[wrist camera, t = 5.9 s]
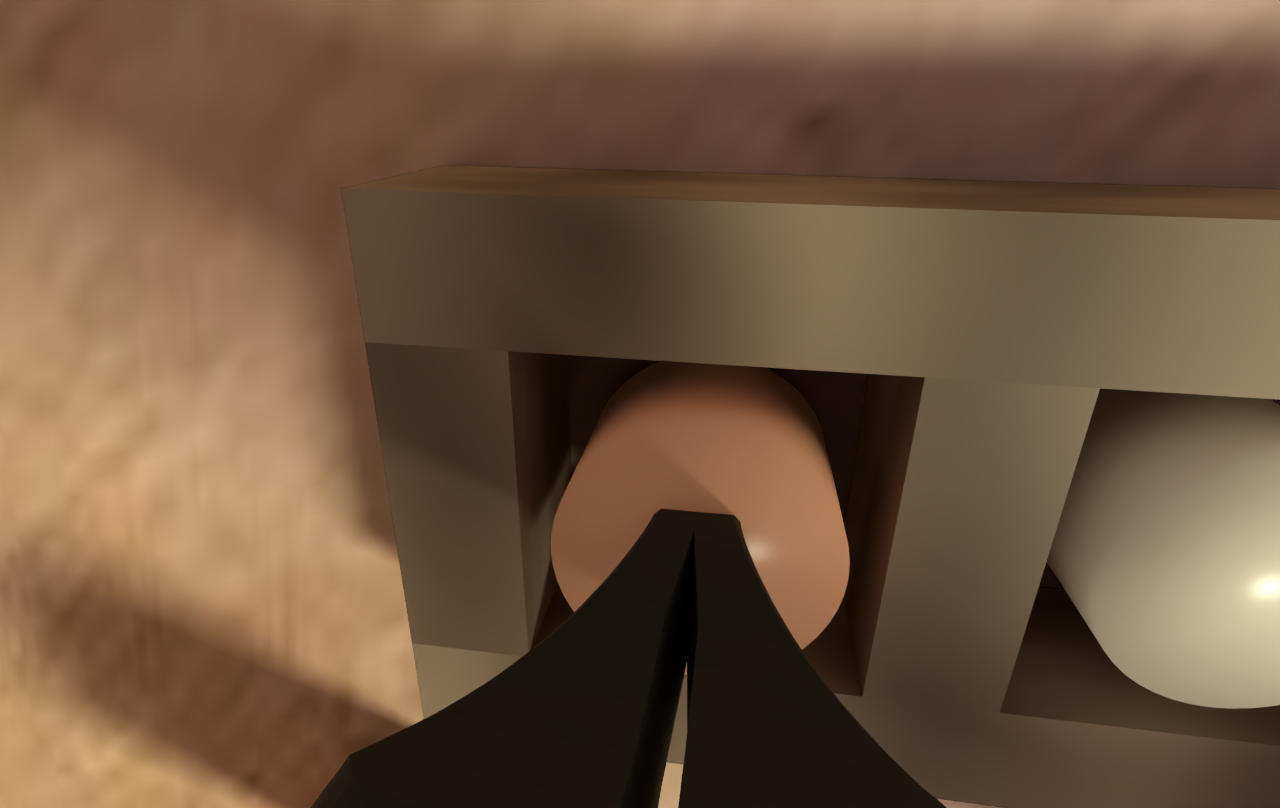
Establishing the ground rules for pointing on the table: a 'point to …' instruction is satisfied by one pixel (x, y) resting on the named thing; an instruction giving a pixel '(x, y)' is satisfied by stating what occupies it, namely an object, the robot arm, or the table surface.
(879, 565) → the brown compartment tray
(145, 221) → the table surface
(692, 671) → the robot arm
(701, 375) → the brown egg
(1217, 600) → the cream oval piece
